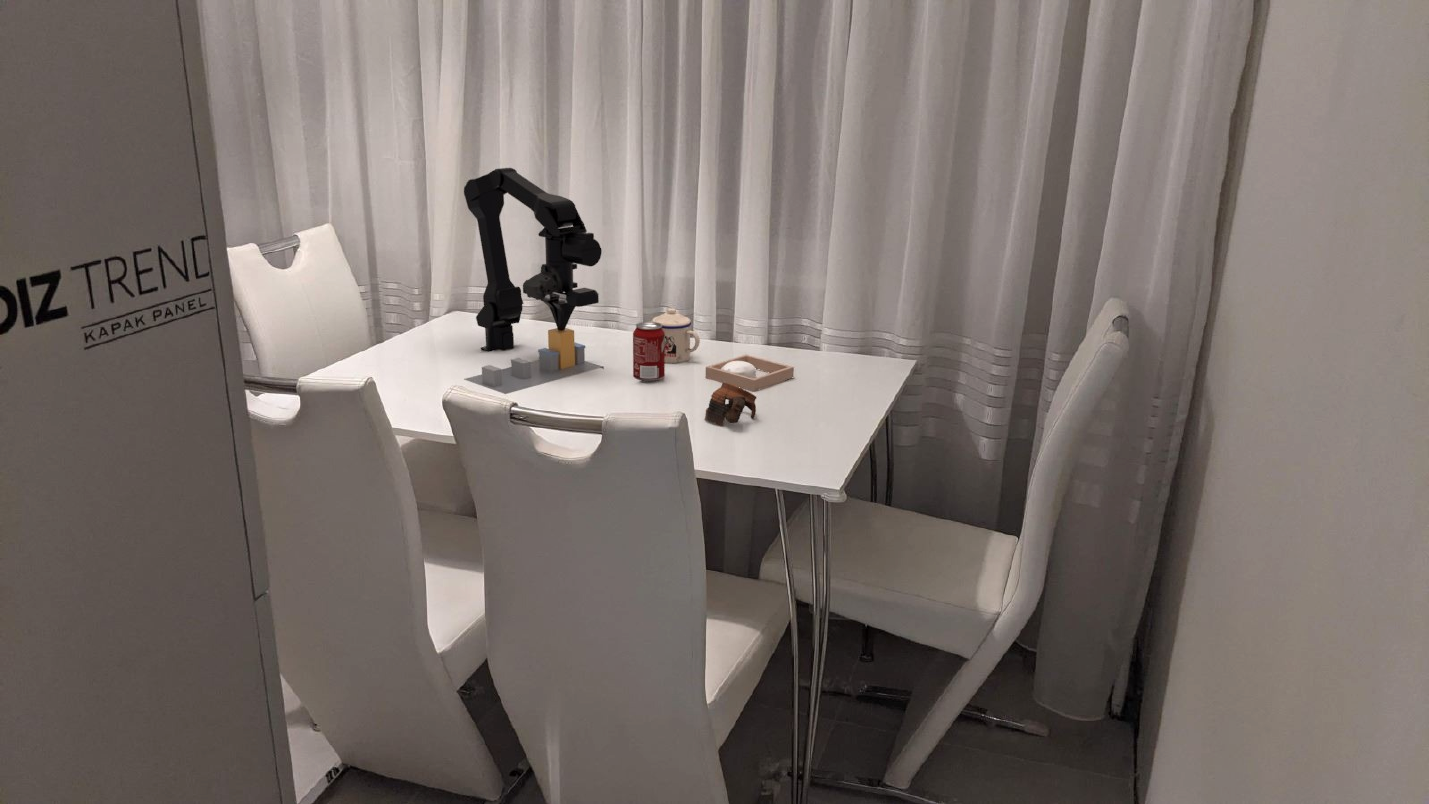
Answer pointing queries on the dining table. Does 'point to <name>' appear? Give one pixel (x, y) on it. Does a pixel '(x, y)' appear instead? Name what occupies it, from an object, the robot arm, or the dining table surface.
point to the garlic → (740, 368)
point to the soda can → (648, 352)
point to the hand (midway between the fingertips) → (561, 330)
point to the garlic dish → (775, 376)
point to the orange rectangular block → (562, 346)
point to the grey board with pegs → (532, 371)
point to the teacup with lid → (677, 336)
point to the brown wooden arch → (729, 404)
